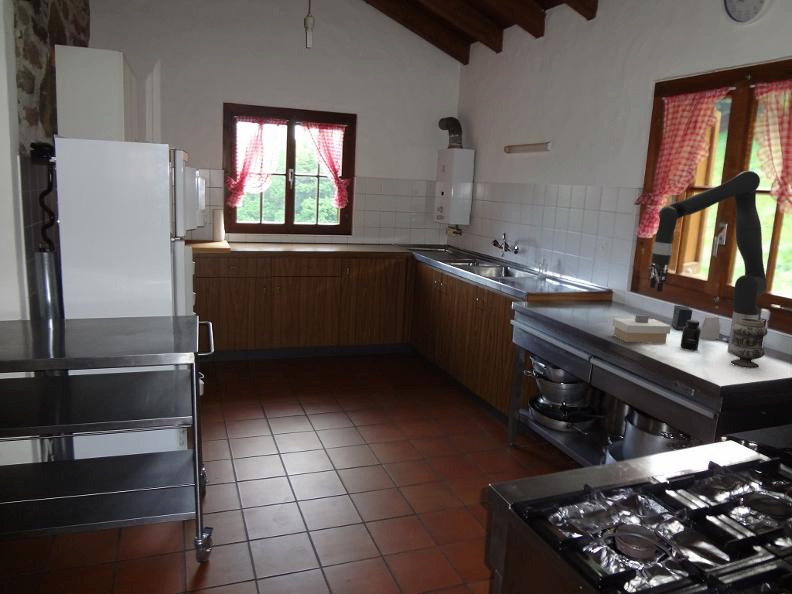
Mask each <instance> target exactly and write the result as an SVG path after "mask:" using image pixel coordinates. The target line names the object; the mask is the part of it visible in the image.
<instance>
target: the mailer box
mask: <svg viewBox="0 0 792 594" xmlns="http://www.w3.org/2000/svg"><path fill="white" fill-rule="evenodd" d="M614 335H616V336H617V337H619V338H621V339H623V340H625V341H627V342H642V343H641V344H666V343H667V337H668V334H658V333H626V332H624V331H623V330H621V329H619V328H617V327H615V326H614V330H613V336H614ZM616 336H615V337H616ZM617 337H616V338H617ZM619 338H618V339H619ZM621 339H620V340H621ZM623 340H622V341H623ZM625 341H624V342H625ZM627 342H626V343H627Z"/></svg>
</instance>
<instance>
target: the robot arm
mask: <svg viewBox="0 0 792 594" xmlns="http://www.w3.org/2000/svg"><path fill="white" fill-rule="evenodd" d="M760 184H761V178H760V176H759V174H758V173H756V172H755V171H752V170H745V171H741V172H739V173H738V174H737V175H736V176H734V177H733V178H731V179H729V180H727V181H726V182H724V183H722V184H719V185H717V186H715V187H713V188H710V189H706V190H704V191H701V192H699V193H696V194H694V195H691V196H688V197H687V198H684V199H682V200H681V201H677V202H674V203H671V204H668V205H666V206H664V207H662V208H661V209H660V210H659V212H658V218H659V221H658V227H657V230H656V233H655V237H654V243H653V246H652V251H651V260H650V263H651V264H650V269H649V272H648V273H649V274H648V277H649V279H650V281H649V288H650V289H655V291H656V292H658V293H659V292H663V288H664V284H665V283H667V279H668V274H669V273H668V271H669V269H668V268H666V266H669V265H670V262H671V257H672V251H673V240H674V233H675V229H676V226H677V223H678V219H680V218H683V217H685V216H689V215H690V216H691V215H693V214H695V213H698V212H700V211H703V210H705V209H708V208H710V207H712V206H714V205H716V204H718V203H720V202H722V201H724V200H727V199H729V198H732V197H734V202H735V239H736V240H735V242H736V246H737V249H738V252H739V254H740V255H741V257H742V260H743V264H744V275H740V276H739V277H738V278H737V279H736V281H735V284H734V288H733V294H732V307H733V312H732V317H731V318H732V319H731V324H730V330H729V337H728V344H727V351H726V352H728V353H729V354H732V353H731V352H730V350H729V347H730V346H731V345H732V344H734V339H735V332H734V330H733V326H734V325H735V324H736V323H738V321H739V318H751V319H757V320H759V314H760V307H758V305H757V299H758V297H760V296H762V295H763V294H764V293H765V292H766V290H767V286H768V285H767V277H766V273H765V267H764V256H763V255H764V254H763V233H762V224H761V219H760V216H759V213H758V212H759V211H758V209H757V201H756V200H757V197H756V195H757V189H759V186H760ZM656 283H657V285H656Z"/></svg>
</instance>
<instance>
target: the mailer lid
mask: <svg viewBox="0 0 792 594" xmlns="http://www.w3.org/2000/svg"><path fill="white" fill-rule="evenodd" d="M649 317H650V316H649V315H647V314H635V318H618V317H617V318H616V317H614V318H612V326H613V327H614V328H615V327H617V328H619V329H621V330H623V331H624V332H626V333H658V334H667V335H670V334H671V327H672V326H671V325H669V324H665V323H664V322H662V321H660V320H656V319H653V318H652V319H651V318H649Z"/></svg>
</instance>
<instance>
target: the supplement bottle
mask: <svg viewBox="0 0 792 594" xmlns="http://www.w3.org/2000/svg"><path fill="white" fill-rule="evenodd" d="M686 325H687V326H685V327H684V328H683V330H682V333H681V334H682V335H681V340H680V348H681V349H683V350H687V351H697V350H698V349H699V345H700V339H701V338H700V335H701V328H700V321H698V320H695V319H691V320H687V323H686Z"/></svg>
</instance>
